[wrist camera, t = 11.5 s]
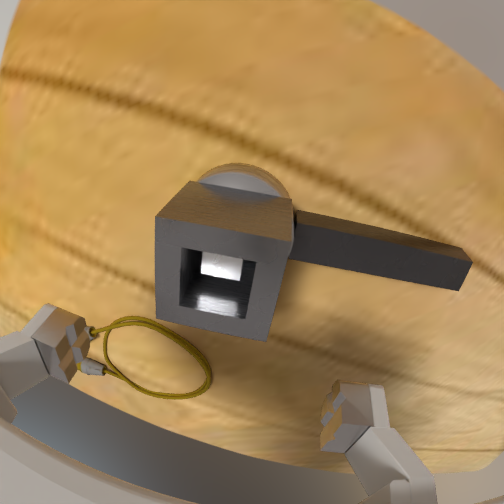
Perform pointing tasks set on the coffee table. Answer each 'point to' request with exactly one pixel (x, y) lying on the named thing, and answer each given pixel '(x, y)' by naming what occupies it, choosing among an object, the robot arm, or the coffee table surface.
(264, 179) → the ratchet
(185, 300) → the socket
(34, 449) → the robot arm
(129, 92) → the coffee table surface
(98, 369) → the extension cord
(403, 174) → the coffee table surface
